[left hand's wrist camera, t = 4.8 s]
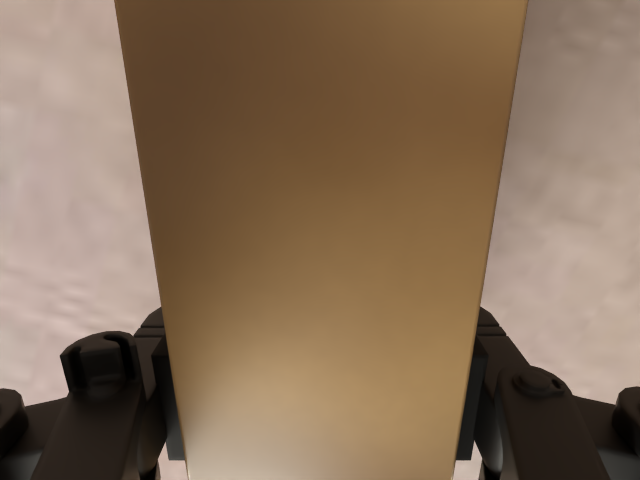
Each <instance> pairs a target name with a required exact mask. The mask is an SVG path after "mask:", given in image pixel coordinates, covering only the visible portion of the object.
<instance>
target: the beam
mask: <svg viewBox="0 0 640 480" xmlns="http://www.w3.org/2000/svg"><path fill="white" fill-rule="evenodd" d="M114 2H115V8H116V15H117V21H118V28H119V34H120V41H121V47H122V54H123V60H124V67H125V73H126V80H127V86H128V93H129V99H130V106H131V112H132V119H133V125H134V132H135V138H136V145H137V151H138V158H139V164H140V170H141V177H142V183H143V190H144V196H145V203H146V209H147V216H148V222H149V229H150V235H151V242H152V248H153V255H154V261H155V268H156V274H157V281H158V287H159V294H160V300H161V307H162V313H163V320H164V326H165V333H166V339H167V346H168V352H169V359H170V365H171V372H172V378H173V385H174V391H175V398H176V404H177V411H178V417H179V424H180V430H181V437H182V443H183V450H184V456H185V463H186V469H187V476H188V480H453V474H454V468H455V462H456V455H457V449H458V443H459V436H460V430H461V424H462V417H463V411H464V405H465V398H466V392H467V386H468V379H469V373H470V367H471V360H472V354H473V347H474V341H475V335H476V328H477V322H478V316H479V309H480V303H481V297H482V290H483V284H484V278H485V271H486V265H487V259H488V252H489V246H490V240H491V233H492V227H493V221H494V214H495V208H496V202H497V195H498V189H499V183H500V176H501V170H502V164H503V157H504V151H505V145H506V138H507V132H508V126H509V119H510V113H511V107H512V100H513V94H514V88H515V81H516V75H517V69H518V62H519V56H520V50H521V43H522V37H523V31H524V24H525V18H526V11H527V5H528V0H114Z"/></svg>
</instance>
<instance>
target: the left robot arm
mask: <svg viewBox="0 0 640 480" xmlns="http://www.w3.org/2000/svg"><path fill="white" fill-rule="evenodd" d="M60 359H61V362H62V366H63V370H64V374H65V378H66V381H67V385H68V389H69V393H68V395H67V397H65V398H61V399H58V400H53V401H49V402H44V403H39V404H35V405H30V406H24V403H23V400H22V396H21V395H20V394H19V393H18V392H17V391H15V390H11V389H4V388H3V389H0V480H160V477H161V476H160V469H159V463H158V458H159V455H160V453H161V451H162V448H163V446H164V444H165V441H166V446H167V452H168V458H169V460H185V456H184V450H183V443H182V437H181V430H180V424H179V417H178V411H177V404H176V398H175V391H174V385H173V378H172V372H171V365H170V359H169V352H168V346H167V339H166V333H165V326H164V320H163V313H162V307H160V308H158V309H157V310H155V311H154V312H152V313H151V314H149V315H148V317H147V318H146V319H145V321H144V322H143V323H142V325H141V328H139V329H138V330H137V331H136V333H135V334H134V337H133V336H132V335H131V334H130V333H126V332H122V331H106V332H101V333H97V334H92V335H90V336H87V337H85V338H82V339H80V340H78V341H76V342H75V343H73V344H71V345H70V346H68V347H67V348H66V349H65V350H64V351H63V352H62V354H61V355H60ZM474 440H475V442H476V445H477V447H478V449H479V452H480V454H481V456H482V463H481V469H480V474H479V480H640V387H630V388H625V389H624V390H622V391H621V392H620V393H619V395H618V398H617V401H616V405H614V404H609V403H604V402H600V401H595V400H590V399H586V398H581V397H578V396H574V395H572V392H571V391H570V389H569V388H568V387H567V385H566V384H565V382H563V381H562V380H561V379H559V378H558V377H557V376H555V375H554V374H552V373H550V372H548V371H546V370H544V369H541V368H538V367H534V366H530V365H529V363H528V362H527V361H526V359H525V358H524V357H523V355H522V354H521V353H520V351H519V350H518V349H517V347H516V346H515V345H514V343H513V342H512V341H511V339H510V338H509V337H508V336H506V333H505V331H504V330H503V329H502V328H501V327H499V324H498V322H497V321H496V320H495V318H494V317H493V316H492V314H491V313H490V312H488V311H486V310H485V309H483V308H482V307H480V309H479V316H478V322H477V328H476V335H475V341H474V347H473V354H472V360H471V367H470V373H469V379H468V386H467V392H466V398H465V405H464V411H463V417H462V424H461V430H460V436H459V443H458V449H457V455H456V460H471V456H472V450H473V444H474Z"/></svg>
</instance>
